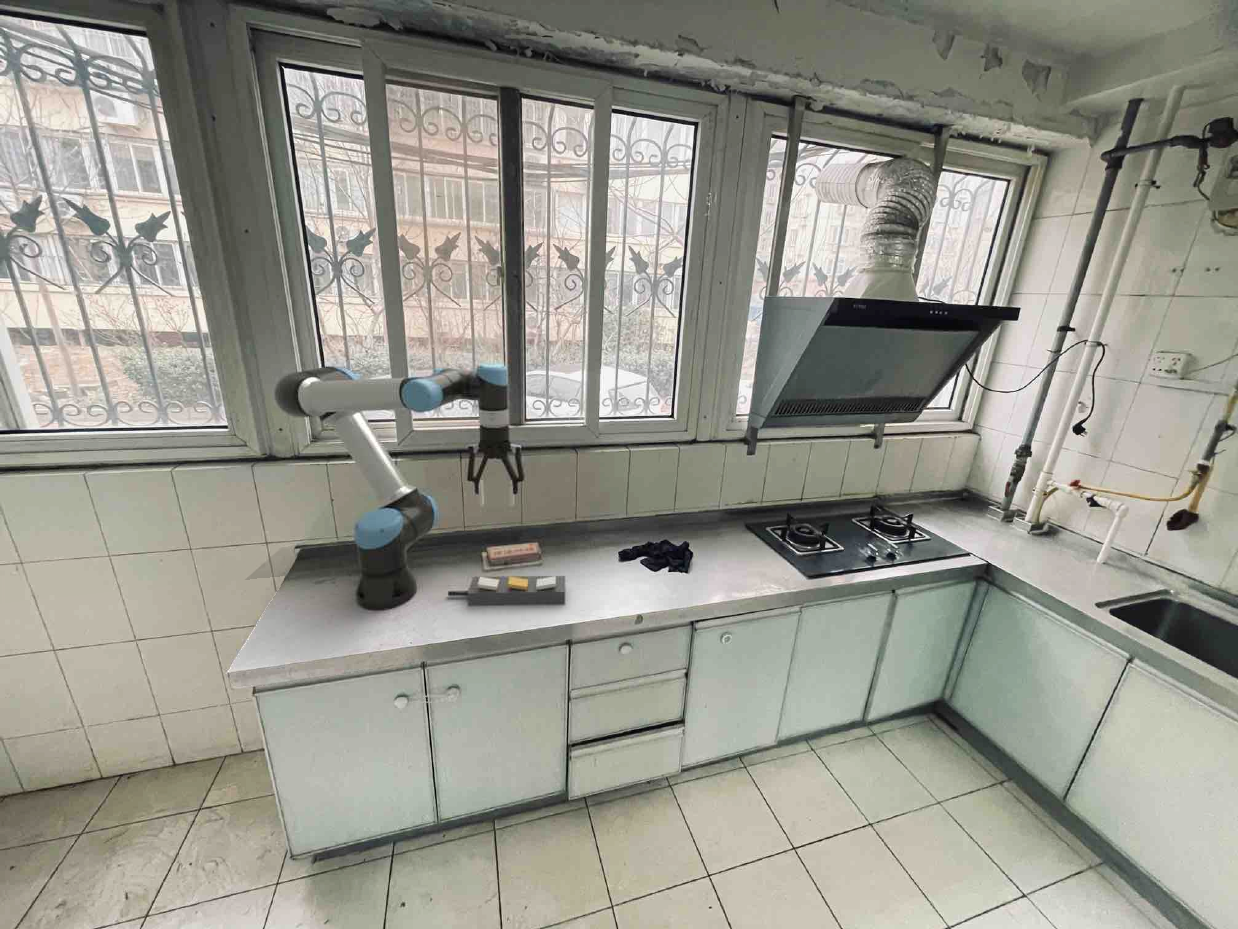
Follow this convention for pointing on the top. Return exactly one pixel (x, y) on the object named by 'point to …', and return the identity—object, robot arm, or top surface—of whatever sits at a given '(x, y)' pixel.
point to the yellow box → (518, 583)
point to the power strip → (514, 592)
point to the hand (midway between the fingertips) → (497, 504)
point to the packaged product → (511, 556)
